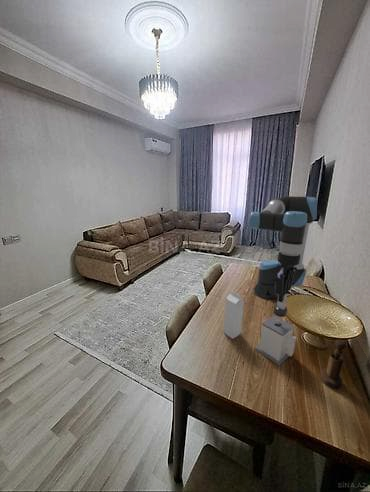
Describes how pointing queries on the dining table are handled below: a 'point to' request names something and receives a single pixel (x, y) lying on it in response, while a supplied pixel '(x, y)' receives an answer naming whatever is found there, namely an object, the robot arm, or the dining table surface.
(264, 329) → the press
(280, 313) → the dark gray domed cylinder
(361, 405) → the dining table surface
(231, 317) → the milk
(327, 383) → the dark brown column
